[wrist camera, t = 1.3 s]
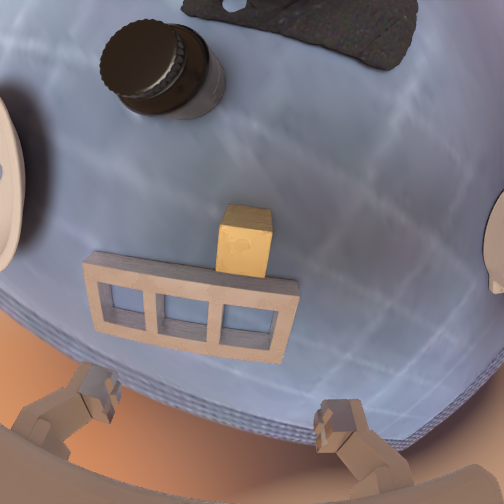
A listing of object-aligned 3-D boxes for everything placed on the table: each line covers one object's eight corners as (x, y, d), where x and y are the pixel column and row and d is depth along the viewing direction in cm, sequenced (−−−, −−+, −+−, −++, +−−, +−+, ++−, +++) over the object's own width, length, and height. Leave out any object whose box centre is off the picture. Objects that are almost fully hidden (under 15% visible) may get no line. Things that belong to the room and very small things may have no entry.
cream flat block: (296, 280, 30) (300, 296, 28) (279, 346, 34) (280, 363, 32) (94, 250, 30) (82, 262, 27) (104, 316, 34) (95, 330, 31)
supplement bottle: (241, 92, 23) (224, 65, 12) (178, 133, 24) (118, 143, 13) (201, 38, 20) (159, -16, 9) (141, 80, 22) (67, 60, 11)
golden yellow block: (270, 209, 27) (272, 232, 22) (264, 247, 29) (264, 278, 23) (228, 203, 27) (219, 224, 22) (224, 242, 29) (215, 271, 23)
